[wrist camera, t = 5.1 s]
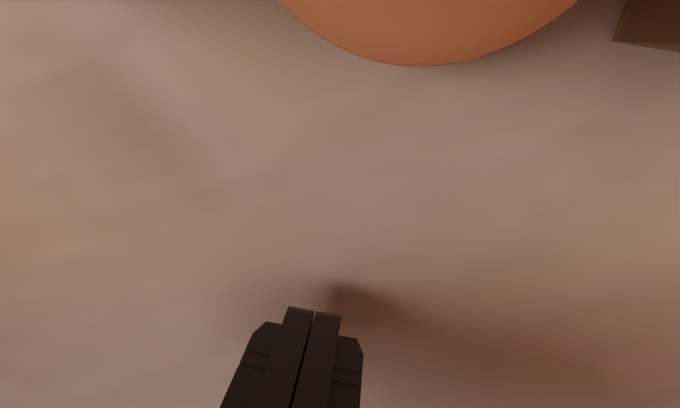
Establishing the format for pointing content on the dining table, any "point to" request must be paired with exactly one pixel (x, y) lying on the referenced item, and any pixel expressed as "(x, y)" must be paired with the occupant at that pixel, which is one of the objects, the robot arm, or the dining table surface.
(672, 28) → the bridge
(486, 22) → the ball
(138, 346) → the dining table surface
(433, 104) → the dining table surface
